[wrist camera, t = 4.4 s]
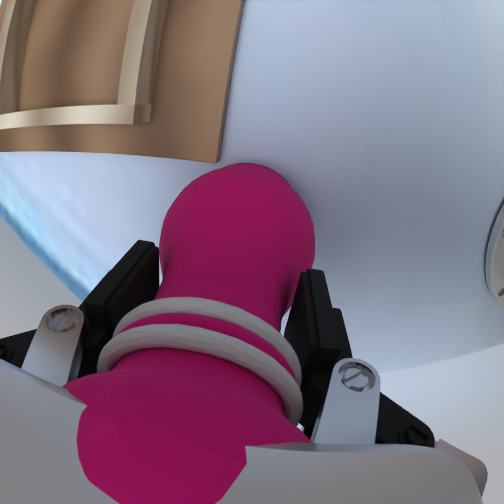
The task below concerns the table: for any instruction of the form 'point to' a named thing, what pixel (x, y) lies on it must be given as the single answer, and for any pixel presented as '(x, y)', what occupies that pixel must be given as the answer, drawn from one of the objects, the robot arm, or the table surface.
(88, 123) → the stand
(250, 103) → the table surface
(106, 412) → the pepper mill
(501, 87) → the table surface
